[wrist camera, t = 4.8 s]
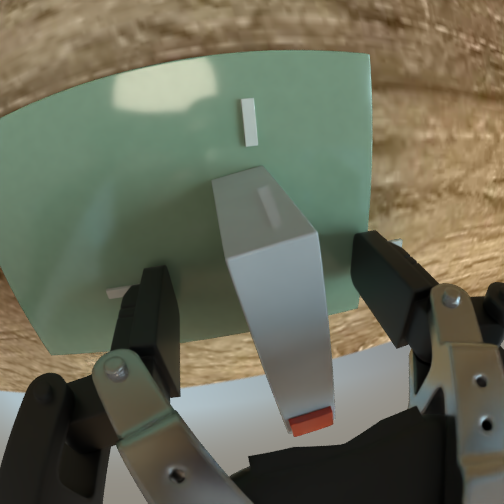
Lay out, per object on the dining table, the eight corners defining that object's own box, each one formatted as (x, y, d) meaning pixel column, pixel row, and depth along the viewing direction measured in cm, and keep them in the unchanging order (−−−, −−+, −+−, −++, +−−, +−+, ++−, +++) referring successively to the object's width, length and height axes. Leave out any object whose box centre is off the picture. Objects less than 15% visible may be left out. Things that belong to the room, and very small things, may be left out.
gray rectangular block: (210, 179, 9) (225, 267, 5) (263, 164, 9) (324, 238, 5) (262, 340, 12) (290, 440, 8) (299, 329, 12) (338, 425, 8)
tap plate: (86, 348, 15) (75, 391, 12) (-1, 126, 9) (-44, 142, 6) (355, 303, 17) (380, 341, 14) (366, 61, 10) (412, 59, 7)
